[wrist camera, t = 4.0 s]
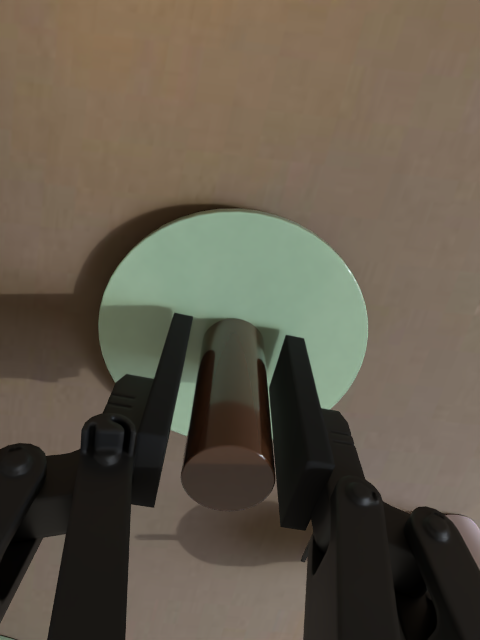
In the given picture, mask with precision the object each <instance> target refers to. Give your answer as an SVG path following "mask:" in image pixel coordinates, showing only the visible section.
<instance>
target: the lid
mask: <svg viewBox="0 0 480 640" xmlns="http://www.w3.org/2000/svg"><path fill="white" fill-rule="evenodd" d="M174 313H179V314H184V315H189V316H193V321H192V326H191V331H190V336H189V341H188V346H187V352H186V357H185V362H184V367H183V372H182V377H181V382H180V387H179V391H178V396H177V401H176V405H175V410H174V415H173V420H172V424H171V429H170V430H172V431H175V432H177V433H180V434H182V435H185V436H187V439H186V446H185V452H184V458H183V465H182V471H181V482H182V485H183V488H184V490H185V491H186V493H187V494H188V495H189V496H190V497H191V498H192V499H193V500H194V501H196V502H197V503H199V504H201V505H203V506H205V507H208V508H211V509H214V510H220V511H238V510H244V509H247V508H250V507H253V506H255V505H257V504H259V503H260V502H262V501H263V500H264V499H265V498H267V496H268V495H269V494H270V493H271V491H272V489H273V487H274V484H275V467H274V455H273V443H272V439H273V432H272V420H271V409H270V397H269V386H270V383H271V380H272V376H273V373H274V370H275V367H276V364H277V361H278V358H279V354H280V351H281V348H282V345H283V342H284V339H285V336H286V335H290V336H295V337H300V338H304V340H305V344H306V348H307V352H308V356H309V360H310V365H311V369H312V373H313V377H314V381H315V385H316V389H317V393H318V397H319V402H320V406H321V408H323V409H329V410H330V409H331V408H332V407H333V406H334V405H335V404H336V403H337V402H338V401H339V400H340V399H341V398H342V396H343V395H344V394H345V393H346V392H347V390H348V389H349V387H350V386H351V384H352V383H353V381H354V379H355V378H356V376H357V373H358V371H359V369H360V367H361V365H362V362H363V358H364V355H365V351H366V346H367V339H368V317H367V311H366V305H365V302H364V299H363V296H362V293H361V290H360V287H359V285H358V283H357V282H356V280H355V278H354V276H353V274H352V272H351V270H350V269H349V267H348V266H347V265H346V263H345V262H344V261H343V259H342V258H341V256H340V255H339V254H338V253H337V252H336V251H335V250H334V249H333V248H332V247H331V246H330V245H329V244H328V243H327V242H325V241H324V240H323V239H321V238H320V237H319V236H318V235H316V234H315V233H314V232H312V231H310V230H309V229H307V228H305V227H303V226H301V225H300V224H298V223H296V222H293V221H291V220H288V219H286V218H283V217H281V216H278V215H274V214H270V213H266V212H262V211H257V210H248V209H239V208H237V209H215V210H208V211H202V212H197V213H194V214H190V215H187V216H183V217H180V218H178V219H176V220H173V221H171V222H169V223H167V224H164V225H162V226H161V227H159V228H158V229H156V230H154V231H153V232H151V233H150V234H148V235H147V236H145V237H144V238H143V239H142V240H141V241H140V242H138V243H137V244H136V245H135V246H134V247H133V248H132V249H131V250H130V251H129V252H128V253H127V255H126V256H125V257H124V258H123V259H122V260H121V262H120V263H119V265H118V266H117V268H116V270H115V271H114V273H113V274H112V276H111V277H110V280H109V282H108V284H107V287H106V289H105V291H104V294H103V298H102V301H101V305H100V310H99V320H98V329H99V341H100V346H101V351H102V355H103V358H104V360H105V363H106V366H107V369H108V370H109V372H110V374H111V376H112V378H113V380H114V382H115V383H116V382H117V381H118V380H119V379H121V378H122V377H123V376H124V375H126V374H130V375H136V376H141V377H147V378H152V379H154V377H155V373H156V370H157V367H158V364H159V360H160V357H161V354H162V350H163V347H164V344H165V341H166V337H167V334H168V331H169V327H170V324H171V321H172V318H173V314H174Z"/></svg>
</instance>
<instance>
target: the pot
mask: <svg viewBox="0 0 480 640" xmlns="http://www.w3.org/2000/svg"><path fill="white" fill-rule="evenodd" d="M0 640H14V639H11V638H8V637H4V636H0Z"/></svg>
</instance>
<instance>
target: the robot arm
mask: <svg viewBox="0 0 480 640" xmlns="http://www.w3.org/2000/svg"><path fill="white" fill-rule="evenodd" d="M192 321H193V316H189V315H184V314H179V313H174V314H173V318H172V321H171V324H170V327H169V331H168V334H167V337H166V341H165V344H164V347H163V350H162V354H161V357H160V360H159V364H158V367H157V370H156V373H155V377H154V379H152V378H147V377H141V376H136V375H130V374H126V375H124V376H123V377H122V378H121V379H119V380H118V381H117V382H116V383H115V386H114V388H113V390H112V393H111V395H110V397H109V400H108V403H107V404H106V407H105V409H104V411H103V414H99V415H96V416H94V417H92V418H90V419H89V420H88V421H87V422H85V424H84V426H83V428H82V433H81V449H79V450H77V451H74V452H71V453H67V454H61V455H51V456H45V453H44V452H43V451H42V450H41V449H40V448H39V447H37V446H34V445H32V444H23V443H18V444H13V445H8V446H6V447H4V448H2V449H0V622H1V621H2V619H3V617H4V615H5V613H6V611H7V609H8V607H9V605H10V603H11V601H12V599H13V597H14V595H15V593H16V591H17V589H18V587H19V585H20V583H21V581H22V579H23V577H24V575H25V573H26V571H27V569H28V567H29V565H30V563H31V561H32V559H33V557H34V555H35V553H36V551H37V549H38V547H39V545H40V543H41V541H42V539H43V538H44V537H50V536H56V535H62V534H66V537H65V543H64V548H63V554H62V560H61V565H60V571H59V576H58V582H57V588H56V593H55V599H54V605H53V610H52V616H51V622H50V627H49V633H48V639H47V640H125V632H126V608H127V585H128V561H129V537H130V514H131V504H133V505H140V506H146V507H153V508H154V505H155V500H156V495H157V491H158V486H159V481H160V476H161V472H162V467H163V462H164V458H165V453H166V448H167V443H168V439H169V434H170V429H171V424H172V420H173V415H174V410H175V405H176V401H177V396H178V391H179V387H180V382H181V377H182V372H183V367H184V362H185V357H186V352H187V346H188V341H189V336H190V331H191V326H192ZM269 397H270V409H271V420H272V432H273V444H274V456H275V467H276V479H277V491H278V502H279V514H280V526H281V527H285V528H292V529H298V530H306V528H307V526H308V524H309V522H310V520H312V526H313V534H312V536H311V538H310V540H309V543H308V545H307V547H306V549H305V551H304V553H303V556H302V559H301V561H302V562H305V560H306V558H307V556H308V564H307V582H306V600H305V619H304V637H303V640H480V570H479V568H478V566H477V564H476V562H475V560H474V558H473V557H472V555H471V553H470V551H469V549H468V547H467V545H466V543H465V541H464V540H463V538H462V536H461V534H460V532H459V530H458V529H457V527H456V526H455V525H454V523H453V522H452V521H451V520H450V519H449V518H448V517H447V516H445V515H444V514H443V513H441V512H439V511H437V510H436V509H433V508H429V507H418V508H416V509H415V510H414V511H413V512H412V514H408V513H406V512H404V511H401V510H399V509H397V508H395V507H392V506H390V505H389V504H387V503H385V502H383V501H382V498H381V495H380V493H379V492H378V491H377V489H376V488H375V487H374V486H373V485H372V484H371V483H369V482H368V481H367V480H365V477H364V474H363V470H362V467H361V464H360V461H359V458H358V454H357V451H356V448H355V446H354V442H353V438H352V436H351V432H350V429H349V425H348V422H347V421H346V420H345V419H344V417H343V416H342V415H341V414H340V412H339V411H334V410H329V409H323V408H321V406H320V402H319V397H318V393H317V389H316V385H315V381H314V377H313V373H312V369H311V365H310V360H309V356H308V352H307V348H306V344H305V340H304V338H300V337H295V336H290V335H286V336H285V339H284V342H283V345H282V348H281V351H280V354H279V358H278V361H277V364H276V367H275V370H274V373H273V376H272V380H271V383H270V386H269Z"/></svg>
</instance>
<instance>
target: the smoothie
mask: <svg viewBox="0 0 480 640" xmlns="http://www.w3.org/2000/svg"><path fill="white" fill-rule="evenodd" d="M445 516H447V517H448V518H449V519H450V520H451V521H452V522H453V523H454V525H455V526H456V527H457V529H458V530H459V532H460V534H461V536H462V538H463V540H464V541H465V543H466V545H467V547H468V549H469V551H470V553H471V555H472V557H473V558H474V560H475V562H476V564H477V566H478V568H479V570H480V529H479V528H478V526H477V525H476V524H475V522H474V521H473V520H471V519H470V518H468V517H465V516H461V515H445Z"/></svg>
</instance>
